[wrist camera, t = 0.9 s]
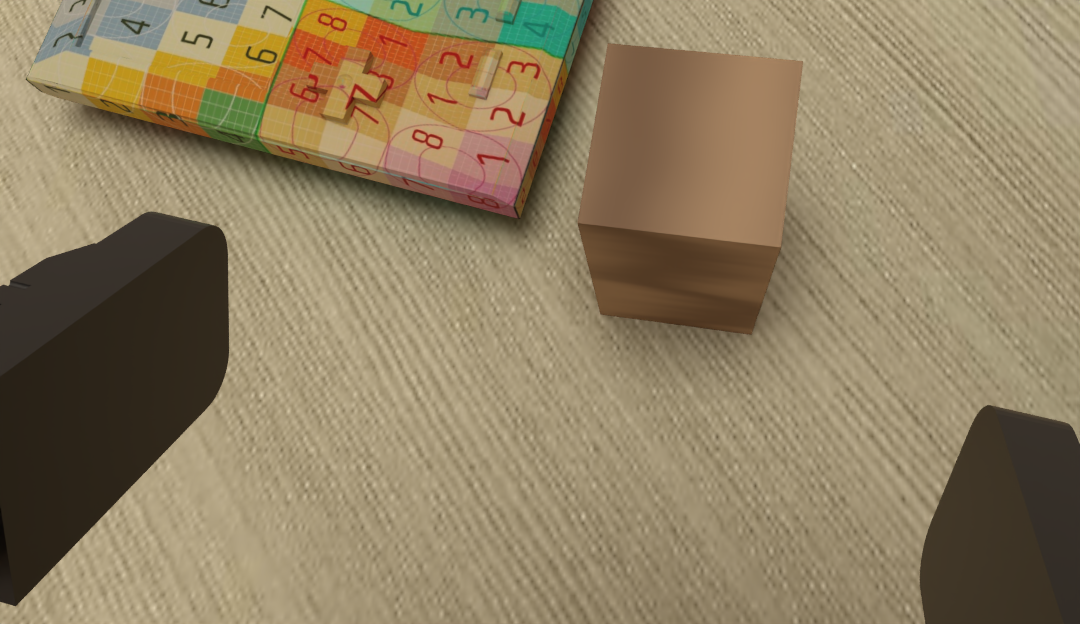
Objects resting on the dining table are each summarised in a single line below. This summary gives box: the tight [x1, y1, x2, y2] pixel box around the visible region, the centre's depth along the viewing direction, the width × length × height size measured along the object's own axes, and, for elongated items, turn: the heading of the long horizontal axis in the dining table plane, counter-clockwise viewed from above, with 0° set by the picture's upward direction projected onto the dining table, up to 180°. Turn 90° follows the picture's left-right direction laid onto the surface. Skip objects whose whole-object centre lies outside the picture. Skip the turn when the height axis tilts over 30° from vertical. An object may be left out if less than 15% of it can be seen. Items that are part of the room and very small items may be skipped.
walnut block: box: [578, 43, 803, 334], centre depth 33 cm, size 6×6×10 cm
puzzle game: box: [26, 0, 593, 219], centre depth 40 cm, size 12×5×20 cm
